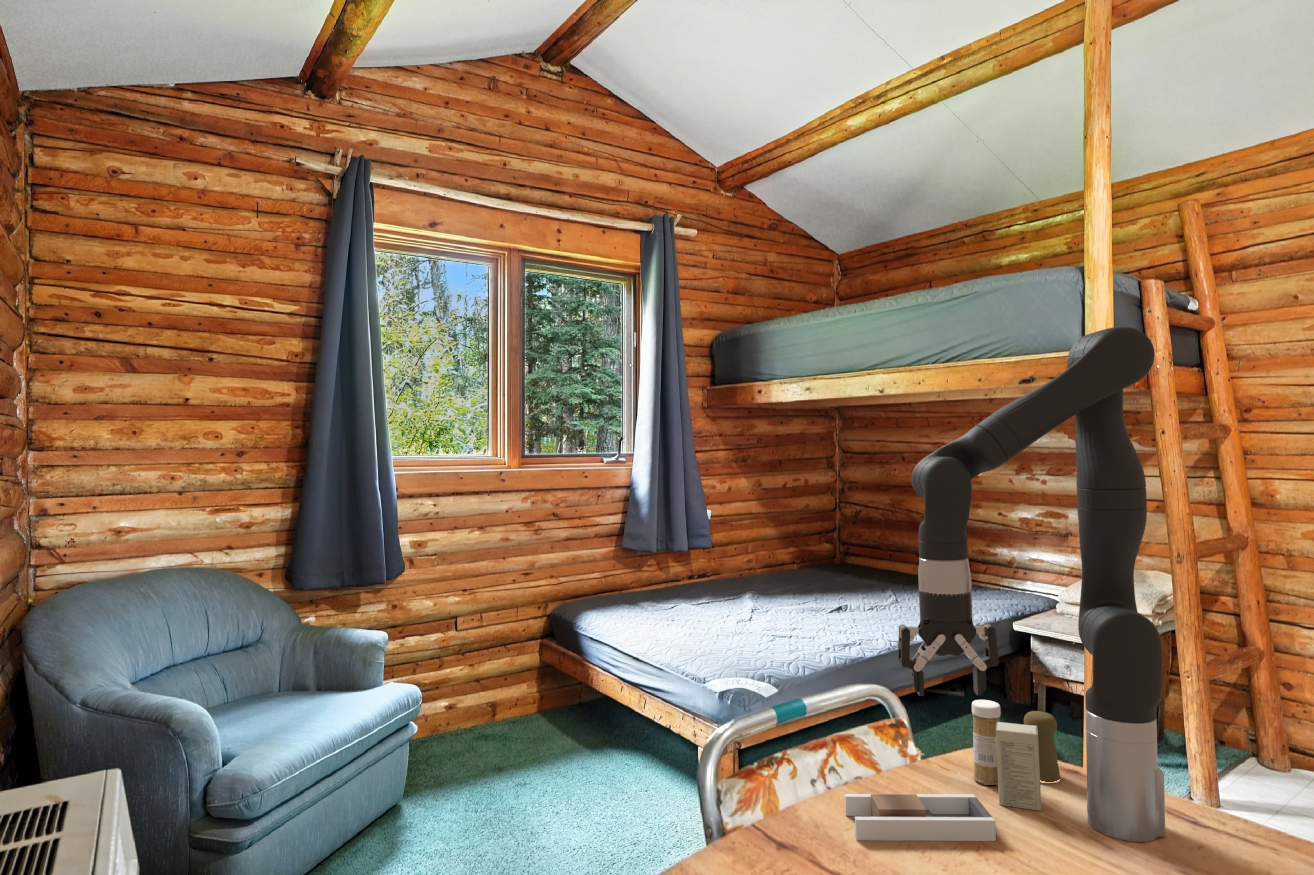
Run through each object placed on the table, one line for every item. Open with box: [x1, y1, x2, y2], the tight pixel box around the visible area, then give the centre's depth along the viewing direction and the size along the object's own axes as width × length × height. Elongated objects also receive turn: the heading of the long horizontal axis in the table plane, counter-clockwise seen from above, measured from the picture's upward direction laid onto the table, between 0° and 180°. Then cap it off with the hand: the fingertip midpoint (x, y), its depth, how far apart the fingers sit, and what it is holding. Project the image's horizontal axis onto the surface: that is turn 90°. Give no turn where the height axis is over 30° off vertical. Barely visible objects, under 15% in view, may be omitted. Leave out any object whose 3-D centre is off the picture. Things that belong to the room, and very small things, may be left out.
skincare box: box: [996, 721, 1042, 811], centre depth 126 cm, size 6×4×12 cm
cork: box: [1023, 710, 1061, 782], centre depth 136 cm, size 6×6×11 cm
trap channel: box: [844, 793, 997, 842], centre depth 119 cm, size 20×8×3 cm, turn 88°
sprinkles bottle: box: [971, 699, 1002, 786], centre depth 134 cm, size 5×5×14 cm
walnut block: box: [870, 793, 926, 817], centre depth 119 cm, size 7×5×4 cm
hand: (949, 694), depth 118 cm, fingers open, 8 cm apart
